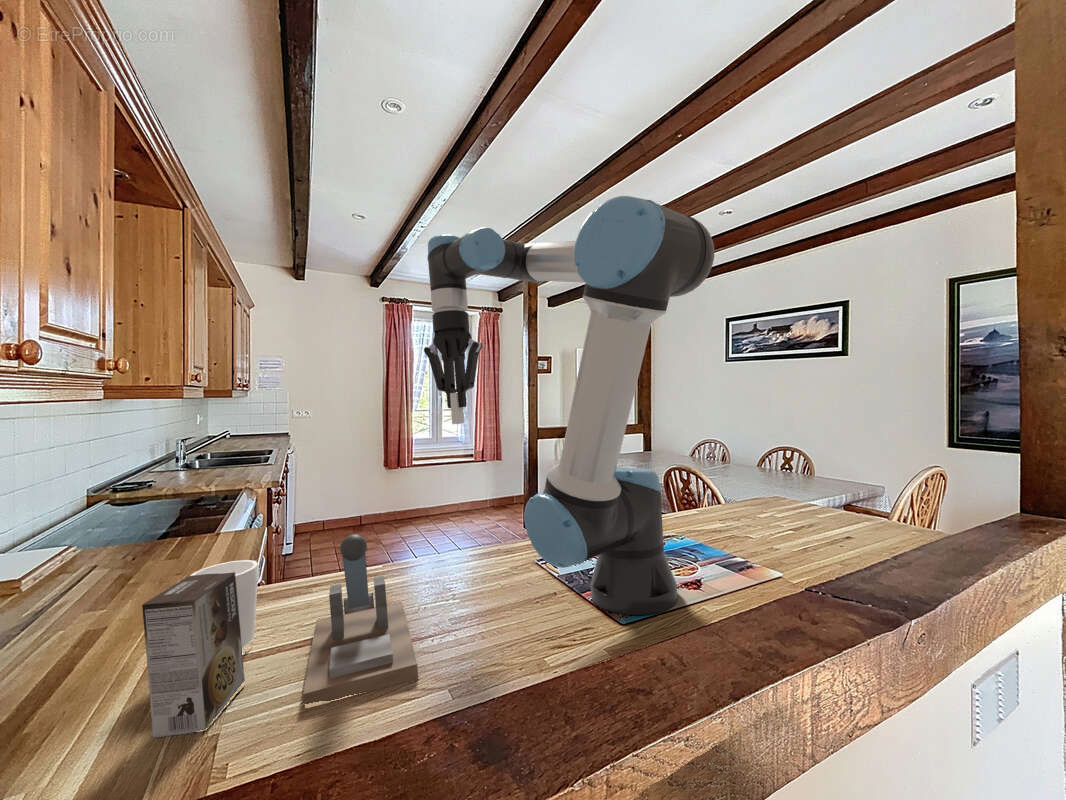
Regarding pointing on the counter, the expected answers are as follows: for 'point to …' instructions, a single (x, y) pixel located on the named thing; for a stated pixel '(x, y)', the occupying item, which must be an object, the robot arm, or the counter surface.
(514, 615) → the counter surface
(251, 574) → the foam cup
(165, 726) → the coffee box
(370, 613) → the press base
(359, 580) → the lever
